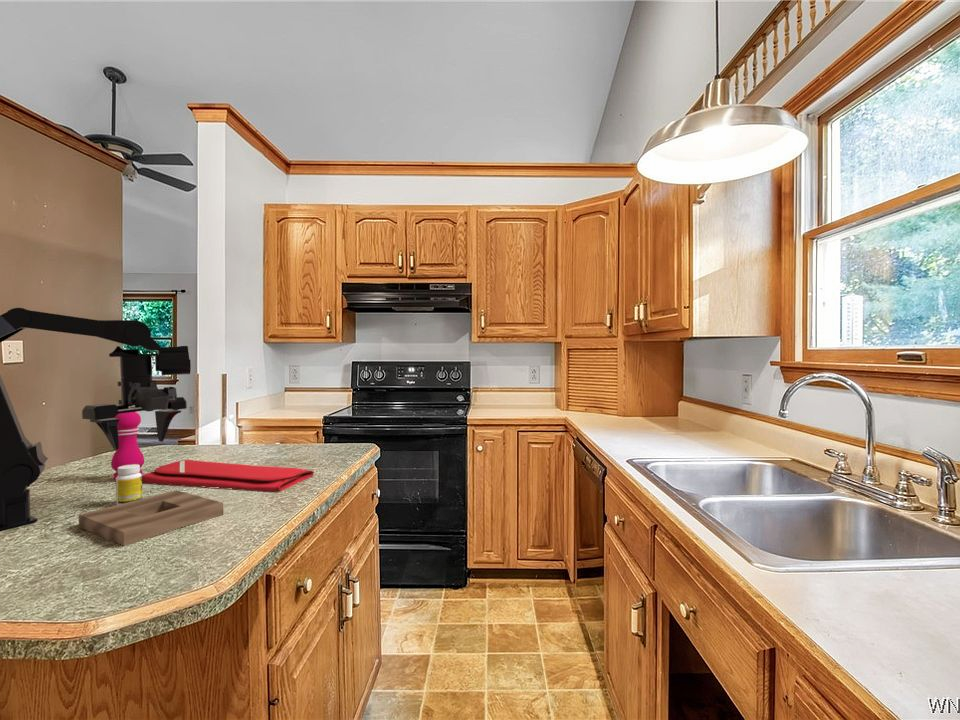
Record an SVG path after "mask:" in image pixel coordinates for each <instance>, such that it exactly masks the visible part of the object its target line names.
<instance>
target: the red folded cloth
mask: <svg viewBox="0 0 960 720" xmlns="http://www.w3.org/2000/svg"><path fill="white" fill-rule="evenodd" d="M314 473H315V472H314V471H313V470H310V469H302V468H297V467H282V466H265V465H264V466H263V465H251V464H240V463H239V464H238V463H228V462H227V463H226V462H217V461H215V462H214V461H205V460H204V461H202V460H201V461H200V460H193V459H183V460H179V461H173V462H171V463H168V464H164V465H161V466H159V467H156V468H155V469H154V471H151V472H147V473H145V474H142V482H146V483H145V484H152V483H157V484H156V485H164V484H171V485H170V486H177V485H186V486H185V487H191V486H205V487H204V488H207V487H219V488H218V489H221V488H232V489H231V490H239V489H244V490H243V491H254V490H258V491H257V492H272V491H277V493H281V492H283V491H284V490H286V489H288V488H290V487H292V486H295V485H296V483H297V484H299V483H301V482H303V481H305V480H307V478H308V479H309V477H310V478H313V476H314ZM298 482H299V483H298ZM294 484H295V485H294Z"/></svg>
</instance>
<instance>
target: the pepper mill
mask: <svg viewBox="0 0 960 720" xmlns="http://www.w3.org/2000/svg"><path fill="white" fill-rule="evenodd" d="M115 419H120V420H119V423H118V426H117V428H118V438H119V449H118V450H115V451H114V454H113V456H112V458H111V462H110V466H111V469H113V470H114V471H115V473H113V482H116V477H117V476H118V475H119V474H118V467H121V466H125V465H133V464H137V465H140V471H139V473H141V474H142V475H143V470H142V469H141V468H142V467H143V466H144V464H145V457H144V454H143V452H142V451H141V449H140V447H139V445H138V439H137V438H138V437H137V436H138V434H139V432H140V431H139V430H140V428H139V427H138V426H140V424H141V422H142V418H141V415H140V414H139V413H138V411H137V412H129V413H121V414H117V415H116V417H115Z"/></svg>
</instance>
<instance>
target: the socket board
mask: <svg viewBox="0 0 960 720" xmlns="http://www.w3.org/2000/svg"><path fill="white" fill-rule="evenodd" d="M220 515H221V516H223V515H224V502H223V501H218V500H215V499H214V500H213V499H210V498H207V497H203V496H199V495H197V494H196V495H195V494H191V493H188V492H184V491H181V490H173V491H172V490H171V491H168V492H164V493H160V494H156V495H152V496H149V497H145V498H144V497H143V498H142V499H140V500H136V501H132V502H128V503H123V504H119V505H116V504H115V505H111V506H109V507H104V508H100V509H95V510H91V511H88V512H84V513H80V514H78V528H80V529H82V528H83V530H84V529H85V531H87V532H89V531H90V532H89V533H91V532H92V534H94V533H95V534H94V535H96V534H97V536H99V537H101V536H102V538H103V537H104V538H103V539H106V538H107V539H106V540H108V539H109V541H111V542H113V541H114V542H113V543H115V542H116V543H115V544H118V545H120V544H121V546H122V545H123V547H125V545H126V546H129V545H131V544H135V543H137V542H138V543H139V542H142V541H145V540H148V539H151V538H153V536H154V537H157V536H160V535H159V534H161V535H163V534H162V533H164V534H166V533H165V532H167V533H169V531H170V532H172V530H173V531H176V530H179V529H178V528H180V529H182V528H181V527H183V528H185V527H184V526H186V527H189V526H192V525H195V524H198V523H201V522H200V521H202V522H204V520H205V521H208V520H210V518H211V519H214V518H217V517H221V516H220ZM207 519H208V520H207ZM197 522H198V523H197ZM194 523H195V524H194ZM191 524H192V525H191ZM188 525H189V526H188ZM175 529H176V530H175ZM156 535H157V536H156ZM150 537H151V538H150ZM147 538H148V539H147ZM144 539H145V540H144ZM128 544H129V545H128Z"/></svg>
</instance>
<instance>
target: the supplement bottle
mask: <svg viewBox="0 0 960 720" xmlns="http://www.w3.org/2000/svg"><path fill="white" fill-rule="evenodd" d="M140 470H141V468H140V465H137V464H133V465H125V466H121V467H118V474H119V475H118V476H117V477H116V481H115V505H119V504H123V503H128V502H132V501H136V500H140V499H143V483H142V476H143V473H142V474H141V473H139V471H140Z"/></svg>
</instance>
